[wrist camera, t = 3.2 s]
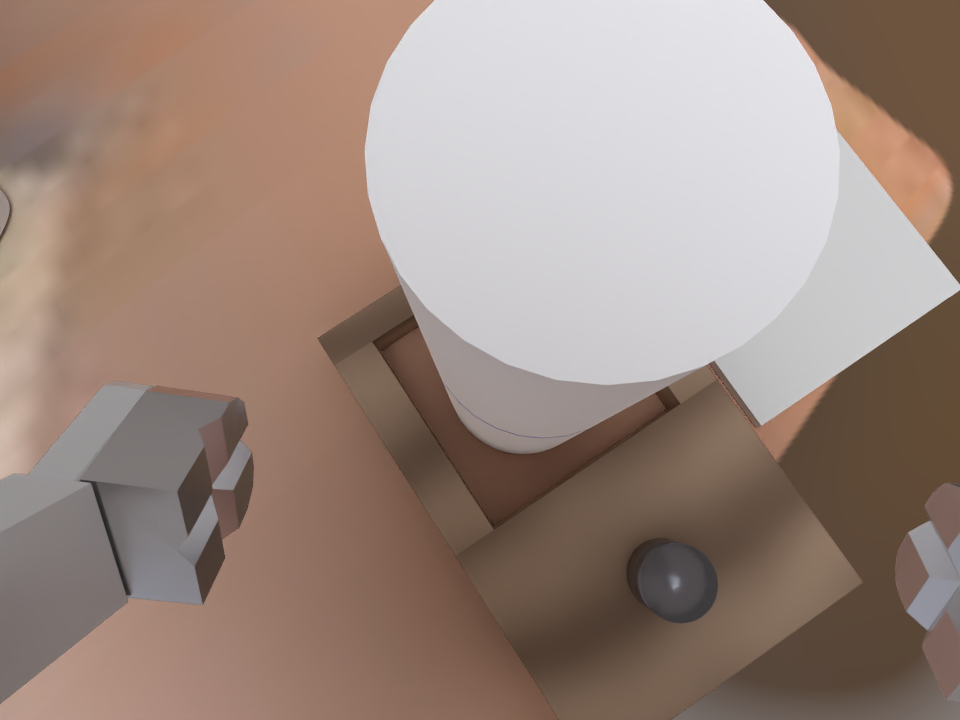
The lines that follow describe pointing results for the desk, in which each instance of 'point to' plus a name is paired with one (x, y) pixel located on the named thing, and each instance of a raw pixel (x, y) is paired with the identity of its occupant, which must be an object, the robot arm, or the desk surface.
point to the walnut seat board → (620, 542)
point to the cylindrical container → (595, 197)
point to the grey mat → (840, 300)
